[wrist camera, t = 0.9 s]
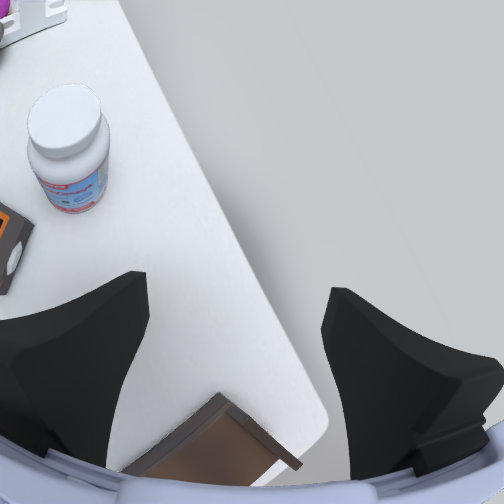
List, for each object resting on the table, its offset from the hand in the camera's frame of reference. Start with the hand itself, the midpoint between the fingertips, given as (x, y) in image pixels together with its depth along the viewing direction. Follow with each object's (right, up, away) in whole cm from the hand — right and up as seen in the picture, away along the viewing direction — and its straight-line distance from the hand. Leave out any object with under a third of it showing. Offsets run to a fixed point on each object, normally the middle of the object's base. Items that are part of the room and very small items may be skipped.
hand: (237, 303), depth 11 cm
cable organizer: (-28, +31, +8) cm, 43 cm away
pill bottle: (-15, +8, +11) cm, 20 cm away
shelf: (-5, -19, +12) cm, 23 cm away
